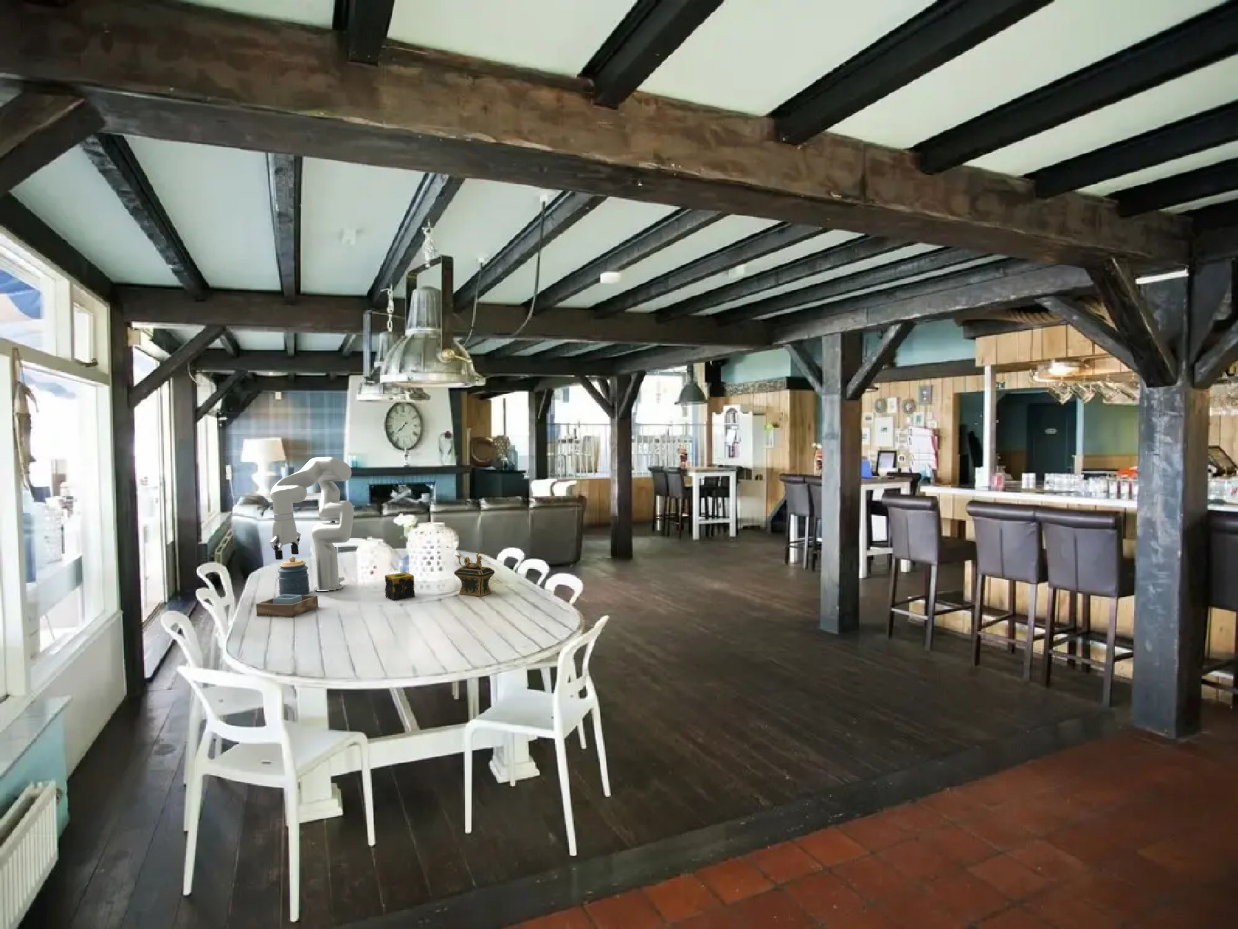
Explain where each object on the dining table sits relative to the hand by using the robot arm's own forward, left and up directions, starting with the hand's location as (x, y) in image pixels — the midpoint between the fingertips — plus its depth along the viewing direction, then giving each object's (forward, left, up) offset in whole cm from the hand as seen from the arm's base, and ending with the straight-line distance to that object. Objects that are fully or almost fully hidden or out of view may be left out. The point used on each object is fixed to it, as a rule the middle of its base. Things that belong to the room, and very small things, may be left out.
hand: (287, 556), depth 306 cm
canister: (-23, -17, -22) cm, 36 cm away
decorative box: (-35, +68, -22) cm, 80 cm away
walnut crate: (+5, +3, -22) cm, 23 cm away
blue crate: (+5, +3, -21) cm, 22 cm away
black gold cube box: (-24, +38, -22) cm, 50 cm away
